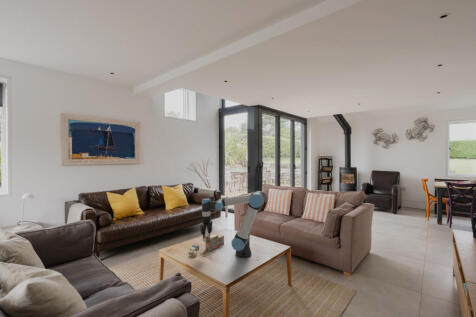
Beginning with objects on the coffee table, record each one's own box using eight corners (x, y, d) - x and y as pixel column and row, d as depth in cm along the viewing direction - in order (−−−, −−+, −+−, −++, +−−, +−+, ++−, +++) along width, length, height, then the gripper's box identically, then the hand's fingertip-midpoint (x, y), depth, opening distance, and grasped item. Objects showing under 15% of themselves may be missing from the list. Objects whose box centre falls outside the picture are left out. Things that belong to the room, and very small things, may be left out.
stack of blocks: (219, 242, 247) (219, 231, 247) (224, 244, 244) (224, 232, 243) (205, 249, 230) (205, 237, 230) (210, 251, 226) (210, 238, 226)
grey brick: (199, 249, 230) (199, 245, 230) (196, 250, 227) (196, 246, 227) (194, 248, 234) (194, 244, 234) (192, 249, 231) (192, 245, 231)
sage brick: (195, 253, 222) (195, 248, 222) (192, 253, 220) (192, 249, 220) (193, 250, 227) (193, 246, 227) (190, 251, 225) (190, 247, 225)
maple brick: (197, 255, 216) (197, 251, 216) (195, 257, 213) (195, 252, 213) (191, 254, 218) (191, 250, 218) (189, 256, 215) (189, 251, 215)
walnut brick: (209, 241, 214) (209, 237, 214) (206, 242, 211) (206, 238, 211) (205, 240, 218) (205, 235, 218) (202, 240, 216) (202, 236, 216)
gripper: (210, 213, 223) (211, 237, 223) (196, 216, 211) (196, 242, 211) (215, 214, 217) (216, 239, 218) (201, 218, 206) (201, 244, 206)
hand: (206, 240), depth 215 cm, fingers closed on walnut brick, 3 cm apart
